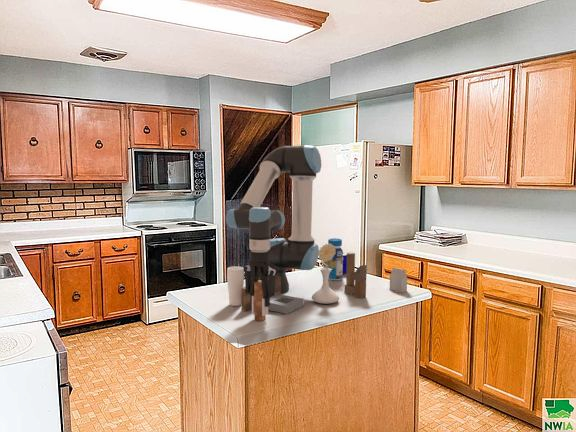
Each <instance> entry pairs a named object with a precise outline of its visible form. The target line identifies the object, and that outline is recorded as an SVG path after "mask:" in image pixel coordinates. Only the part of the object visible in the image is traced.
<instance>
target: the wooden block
mask: <svg viewBox="0 0 576 432" xmlns="http://www.w3.org/2000/svg"><path fill="white" fill-rule="evenodd" d="M346 254H347V273H346V275H345V277H346V280H345V281H346V284H344V290H343V292H344V293H345V294H348V295H350V296H353V297H355V298H358V299H364V298H366V296H367V272H368V271H367V269H368V268H367V267H368V266H367V264H363V265H359V267H357V269H356V268H355V267H356V253H355V252H346Z"/></svg>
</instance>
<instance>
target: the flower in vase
mask: <svg viewBox="0 0 576 432" xmlns="http://www.w3.org/2000/svg"><path fill="white" fill-rule="evenodd" d="M335 251H336V250H335V247H334V246H333V245H332V244H330V243H329V244H328V243H325V244H323V245H322V246H321V247H320V248H319V254H318V259H319V260H320V262H321V264H324V265H326V266H327V264H326V263H324V262H326V261H327V260H328V261H329V260H330V263H329V265H330V268H336V265H335V263H334V262H332V263H331V259H332V257H334V255H335V254H336V252H335ZM329 265H328V267H329ZM328 267H327V268H323V267H322V268H319V270H320V272H321V273H320V274H321V275H322V286H321V287H320V288H319V289H318V290H316V291H315V292H314V293H313V294H312V295H311V300H312V301H313V302H316V303H317V304H325V305H326V304H330V305H331V304H333V303H337V302H339V300H340V297H339V295H338V294H337V293H336V292H335V291H334V290H333V289H331V288H330V286H329V279H328V278H329V274H330V272H331V270H332V269H330V268H328Z"/></svg>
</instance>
